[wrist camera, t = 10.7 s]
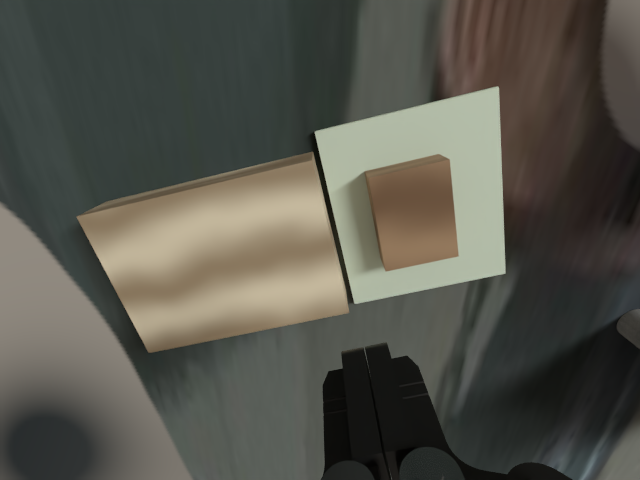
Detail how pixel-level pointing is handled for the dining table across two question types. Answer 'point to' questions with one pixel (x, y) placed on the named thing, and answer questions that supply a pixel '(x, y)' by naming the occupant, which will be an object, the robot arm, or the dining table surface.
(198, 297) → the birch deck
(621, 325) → the hip flask
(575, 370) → the dining table surface
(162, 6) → the dining table surface
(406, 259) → the walnut tile
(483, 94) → the sage mat
